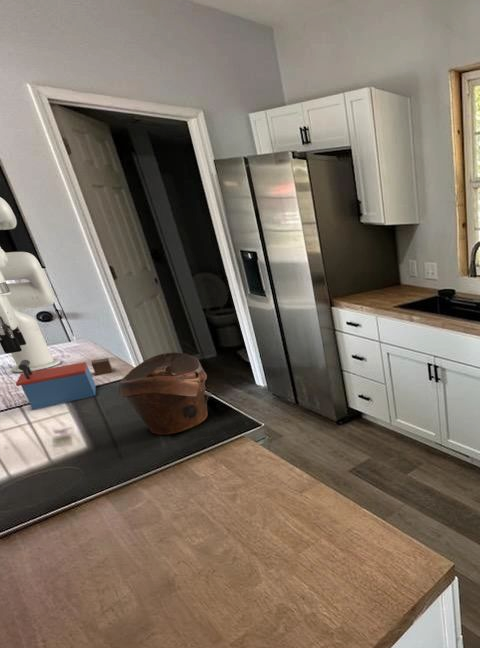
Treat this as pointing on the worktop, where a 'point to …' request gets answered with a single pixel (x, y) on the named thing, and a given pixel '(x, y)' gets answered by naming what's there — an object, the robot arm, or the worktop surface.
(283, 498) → the worktop surface
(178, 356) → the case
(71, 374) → the box lid
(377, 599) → the worktop surface
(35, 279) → the robot arm
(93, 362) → the walnut block
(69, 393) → the storage box
